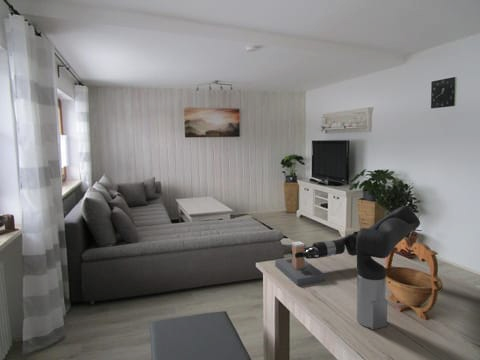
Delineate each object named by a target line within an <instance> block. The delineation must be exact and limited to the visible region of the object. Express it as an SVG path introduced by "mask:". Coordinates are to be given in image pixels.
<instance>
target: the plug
mask: <svg viewBox="0 0 480 360" xmlns="http://www.w3.org/2000/svg"><path fill="white" fill-rule="evenodd" d="M304 245H305V243H304V242H302V241H292V242H291V250H292V255H291V258H292V267H294V268H295V269H296V270H298V269H304V268H305V261H306V258H303V257H300V258H296V257H295V253H300V252H304Z"/></svg>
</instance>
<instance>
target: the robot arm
mask: <svg viewBox="0 0 480 360" xmlns="http://www.w3.org/2000/svg"><path fill="white" fill-rule="evenodd" d="M420 225H421V221H420V218H419V217H418V216H417V214H415V211H414V210H413V209H412V208H411V206H409V205H408V204H407V205H406V204H405V205H403V206H402V205H401V206H399V207H398V208H396V209H394V210H393V211H391V212H390V213H388V214H386V215H385V216H383V217H382V218H381V219H379V220H378V221H377V222H375V223H374V224H373V225H371V226H369V227H368V228H365V227H362V228H360V229H359V230H358V232H357V234H353V233H351V234H348V235H345V236H344V237H342V238H339V239H335V240H323V241H317V242H316V241H315V242H314V243H312V245H307V246H306V244H304V252H300V253H295V257H296V258H300V257H303V258H304V259H305V260H306V259H308V260H309V259H321V258H322V259H323V258H326V257H331V256H335V255H341V254H344V253H345V251H346V252H347V254H349V256H351V257H352V256H353V257H355V256H356V269H357V276H356V277H357V279H356V282H357V283H356V321H357V323H359V324H360V325H361V326H364V327H366V328H369V329H371V330H377V329H381V328H385V327H387V326H388V299H386V293H387V292H386V289H387V287H386V286H387V269H386V267H385V266H384V265H382V264H381V263H379V262H378V261H376V260H375V259H376V258H377V259H386V258H388V257H389V256H390V255H391V253H392V252H393V250H394V249H395V247H396V246H397V245H398V244H399V243H400V242H401V241H403V240H404V239H405V238H406V237H407V236H408V234H410V233H412V232H413V231H415V230H416V229H418V228H419V226H420ZM404 237H405V238H404ZM289 254H290V256H292V249H290V250H289ZM374 258H375V259H374Z"/></svg>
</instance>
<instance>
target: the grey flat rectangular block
mask: <svg viewBox="0 0 480 360" xmlns="http://www.w3.org/2000/svg"><path fill="white" fill-rule="evenodd" d="M274 260H275V259H274ZM274 263H275V267H276V268H277V269H278V270H279V271H281V273H283V275H285V276H286V277H287V278H288V279H290V281H291V282H293V284H295V285H296V286H297V287H298V286H302V285H307V284H309V285H310V284H313V283H318V282H325V280H326V274H325V273H324V272H322V271H321V270H319V269H318V268H317V267H316V266H314V265H312V264H311V263H310V262H308V260H305V268H304V269H298V270H296V269H295V268H294V267H292V257H289V258H281V259H276V260H275V262H274Z"/></svg>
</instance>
